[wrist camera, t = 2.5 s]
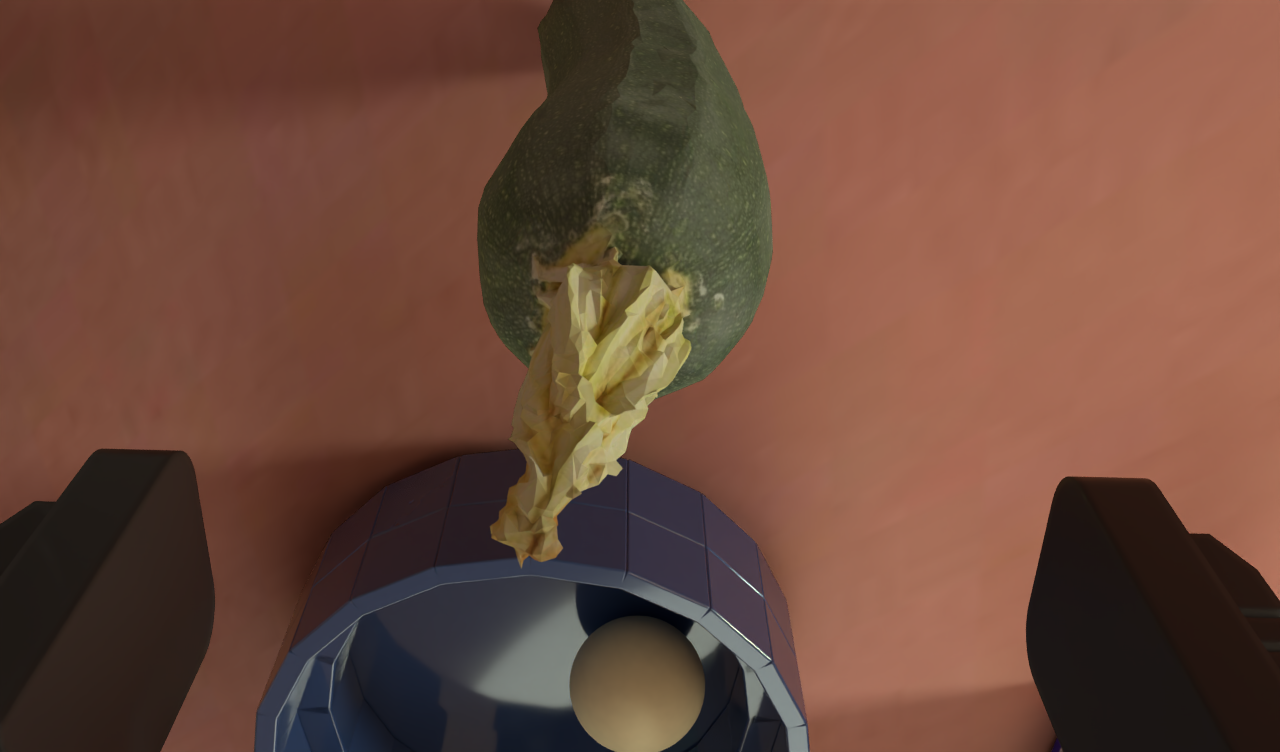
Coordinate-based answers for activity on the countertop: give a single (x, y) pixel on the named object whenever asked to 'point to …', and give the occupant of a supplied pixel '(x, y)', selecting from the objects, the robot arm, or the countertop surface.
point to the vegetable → (617, 243)
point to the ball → (637, 685)
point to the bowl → (523, 620)
